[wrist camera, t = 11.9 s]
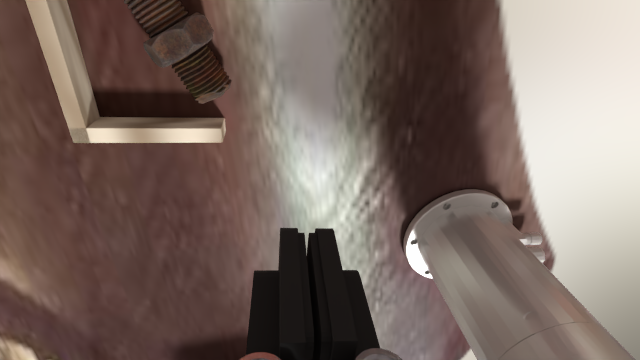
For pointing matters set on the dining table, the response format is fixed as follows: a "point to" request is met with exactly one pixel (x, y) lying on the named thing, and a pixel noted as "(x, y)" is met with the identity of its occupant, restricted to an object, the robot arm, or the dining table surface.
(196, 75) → the bolt
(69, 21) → the dock
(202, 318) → the dining table surface
